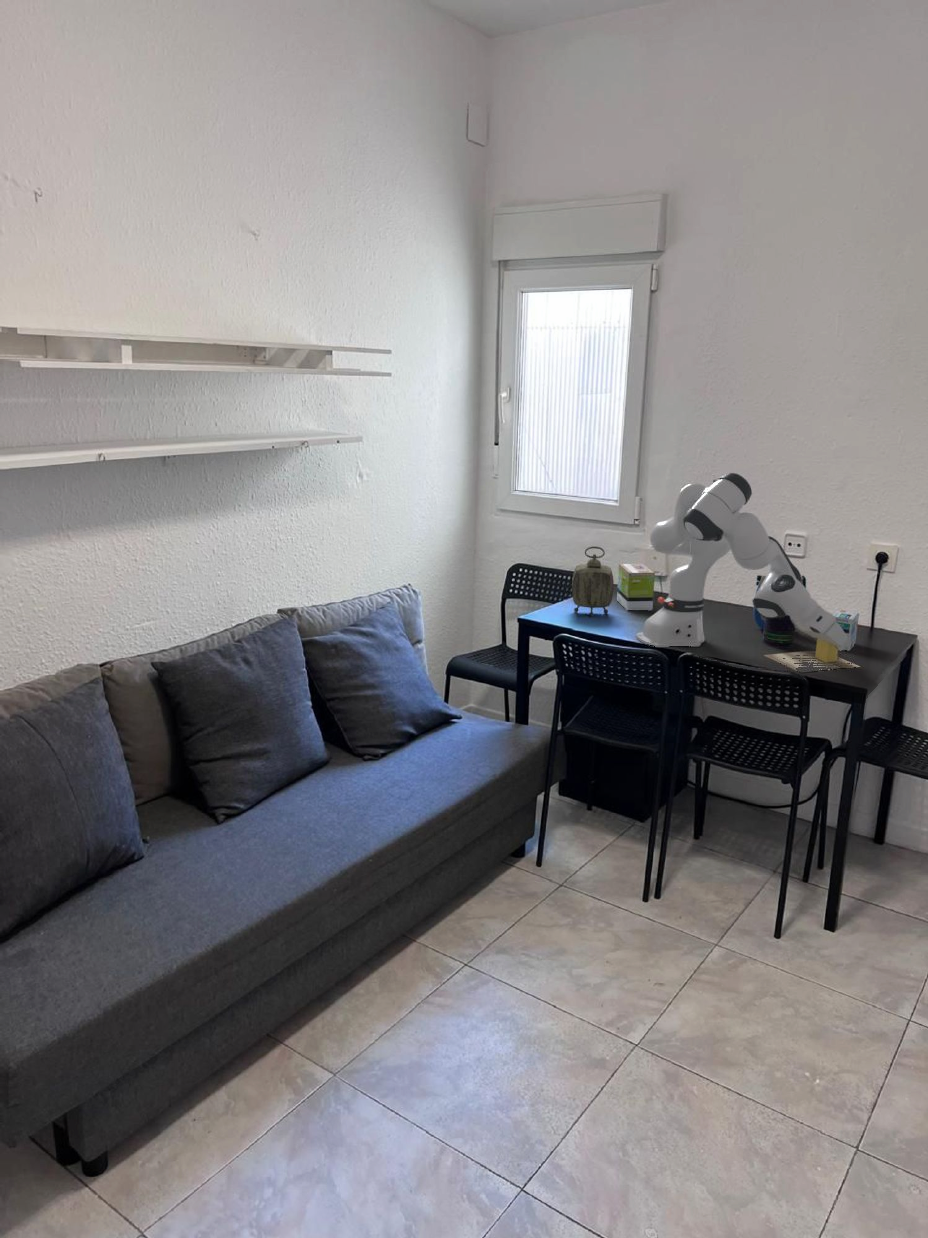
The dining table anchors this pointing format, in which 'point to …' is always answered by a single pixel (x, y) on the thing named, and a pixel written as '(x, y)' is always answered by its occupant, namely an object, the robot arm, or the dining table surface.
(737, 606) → the dining table surface
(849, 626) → the light bulb box
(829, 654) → the yellow rectangular block
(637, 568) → the tea box
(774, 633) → the storage jar
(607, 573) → the tabletop clock
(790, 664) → the plywood sheet
